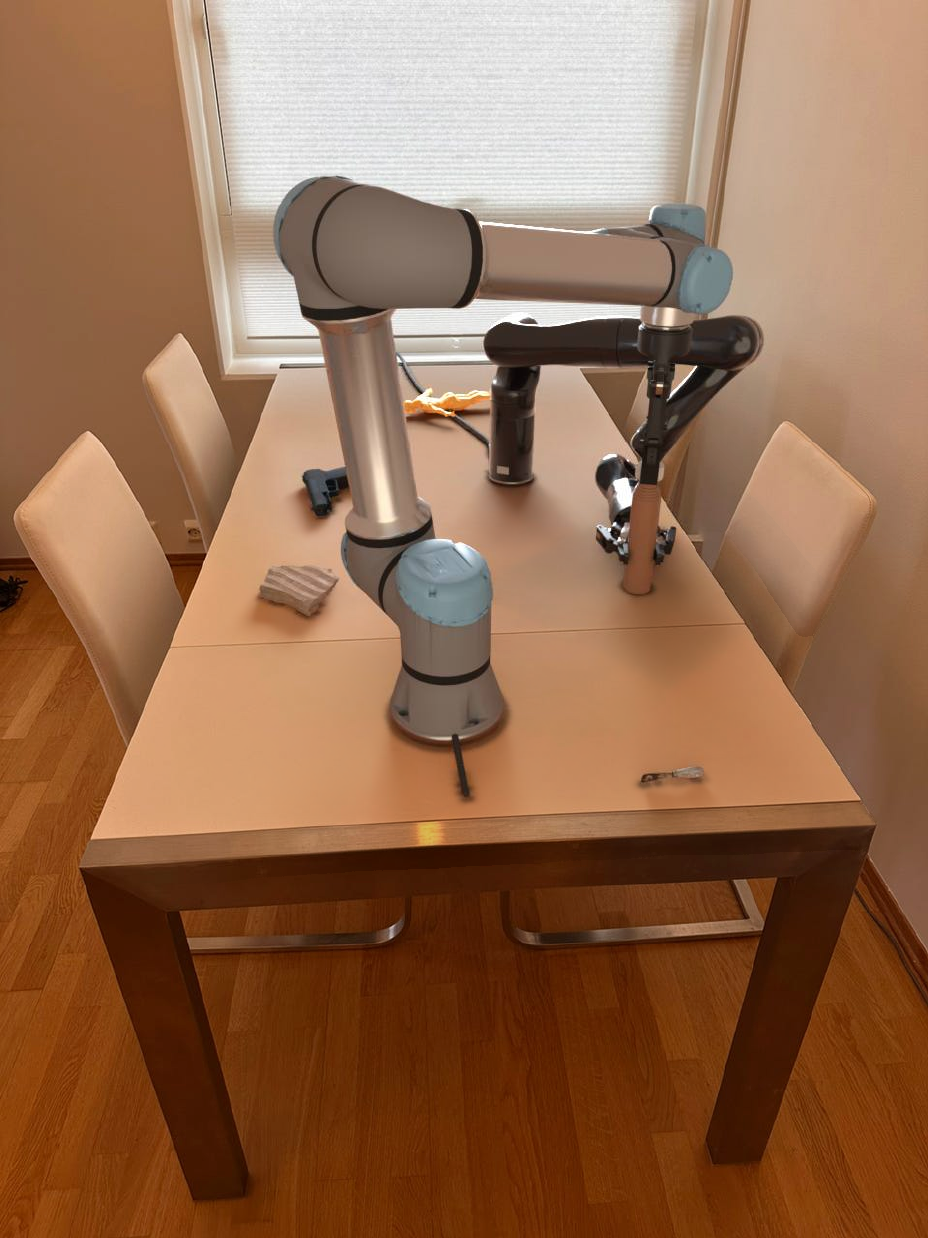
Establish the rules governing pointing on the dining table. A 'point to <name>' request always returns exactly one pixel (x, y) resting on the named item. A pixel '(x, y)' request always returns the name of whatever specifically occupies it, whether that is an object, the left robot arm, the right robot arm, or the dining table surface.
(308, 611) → the stone
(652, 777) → the putty knife
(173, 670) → the dining table surface
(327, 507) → the handgun
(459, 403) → the human figure
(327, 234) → the left robot arm
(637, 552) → the bottle
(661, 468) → the cap
